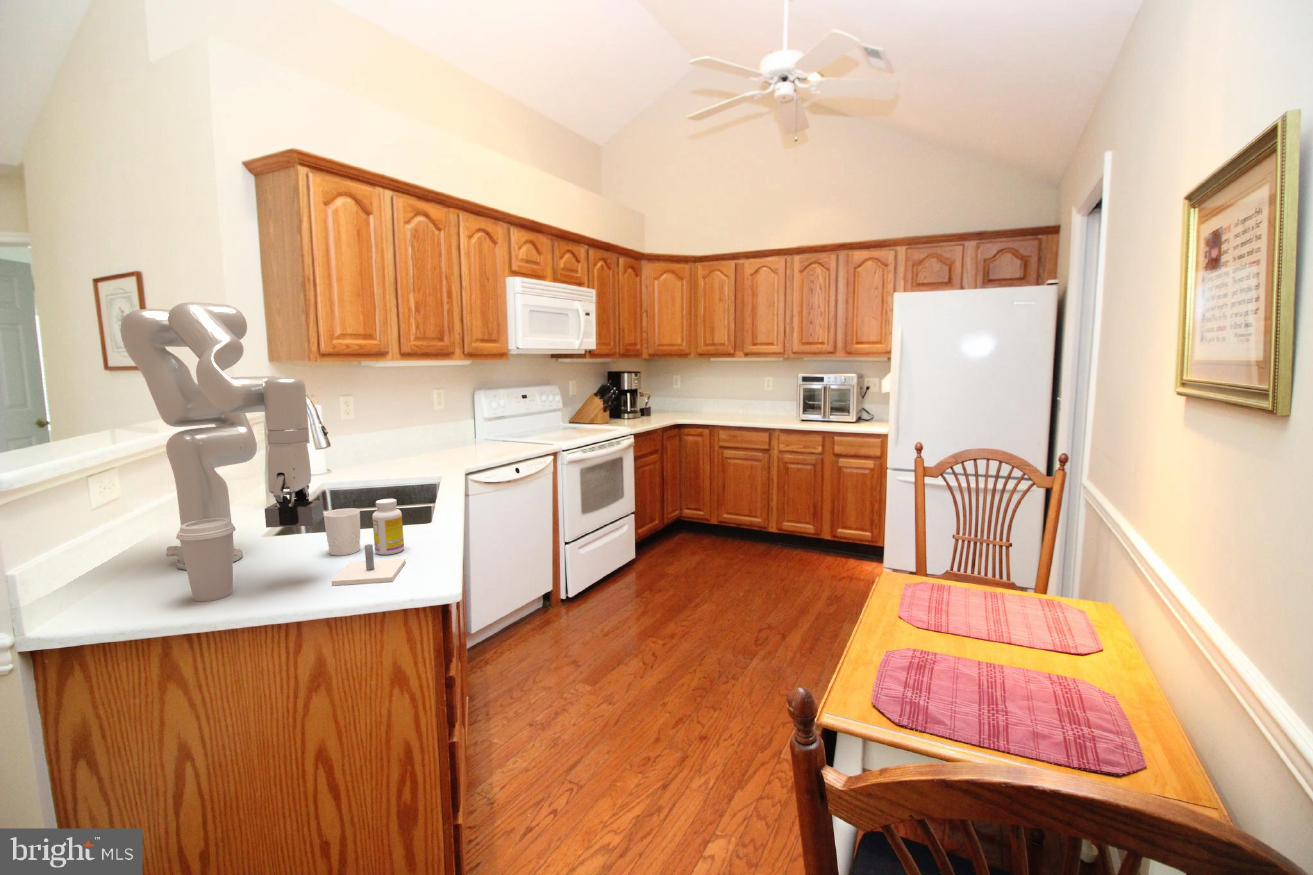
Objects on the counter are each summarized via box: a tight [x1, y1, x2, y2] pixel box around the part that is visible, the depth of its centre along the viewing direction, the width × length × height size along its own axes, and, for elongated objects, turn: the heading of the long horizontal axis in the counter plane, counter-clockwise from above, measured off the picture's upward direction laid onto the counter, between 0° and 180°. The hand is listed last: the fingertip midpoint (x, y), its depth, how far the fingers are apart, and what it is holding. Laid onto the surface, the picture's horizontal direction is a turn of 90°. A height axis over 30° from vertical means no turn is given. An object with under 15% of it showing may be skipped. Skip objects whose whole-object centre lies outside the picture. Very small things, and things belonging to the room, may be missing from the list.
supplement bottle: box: [371, 498, 405, 556], centre depth 148 cm, size 7×7×13 cm
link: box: [264, 499, 324, 528], centre depth 128 cm, size 9×6×4 cm, turn 100°
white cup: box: [323, 507, 361, 557], centre depth 149 cm, size 8×8×10 cm
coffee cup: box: [175, 518, 237, 602], centre depth 121 cm, size 10×10×15 cm
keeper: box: [331, 543, 407, 586], centre depth 133 cm, size 12×12×6 cm
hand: (295, 519), depth 129 cm, fingers closed on link, 6 cm apart
